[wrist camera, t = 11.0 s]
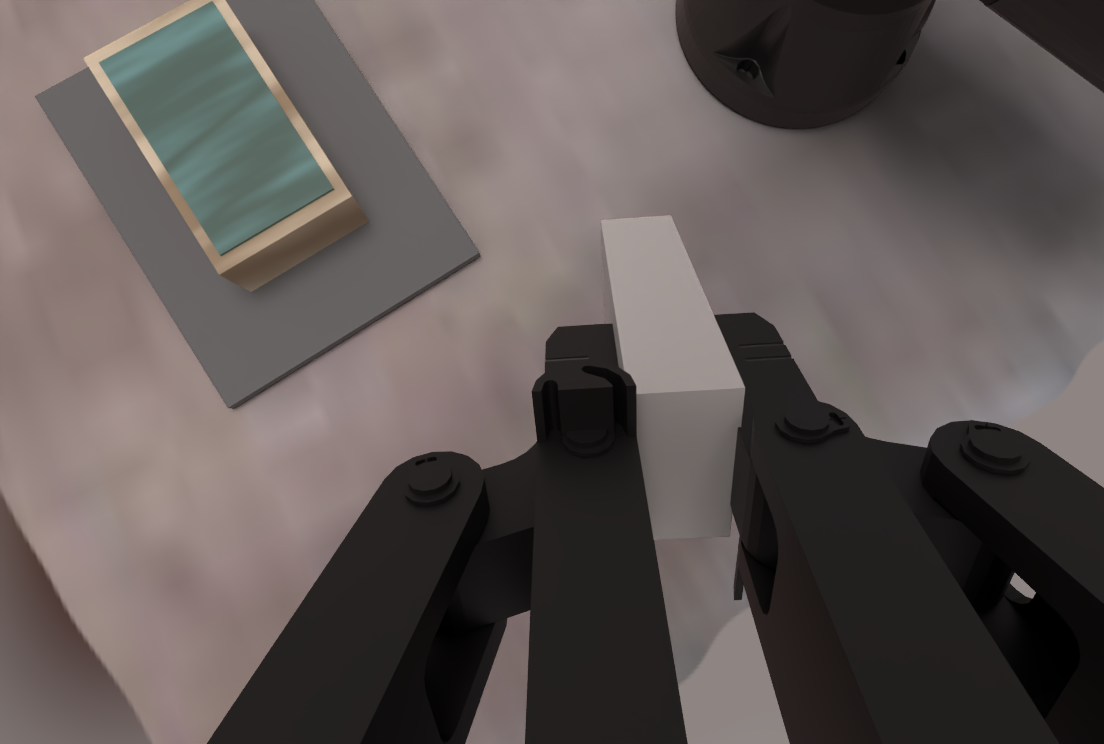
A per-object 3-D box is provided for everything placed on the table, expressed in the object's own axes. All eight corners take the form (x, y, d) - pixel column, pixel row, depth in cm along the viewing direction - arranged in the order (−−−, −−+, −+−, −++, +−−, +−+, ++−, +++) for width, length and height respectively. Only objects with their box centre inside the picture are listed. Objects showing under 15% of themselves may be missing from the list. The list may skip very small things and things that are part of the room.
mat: (480, 256, 39) (479, 252, 38) (234, 408, 37) (227, 407, 37) (291, -32, 40) (286, -41, 39) (44, 103, 39) (34, 96, 38)
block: (351, 194, 34) (214, -17, 35) (217, 273, 33) (80, 55, 34) (369, 221, 38) (247, 32, 39) (250, 292, 37) (128, 97, 38)
